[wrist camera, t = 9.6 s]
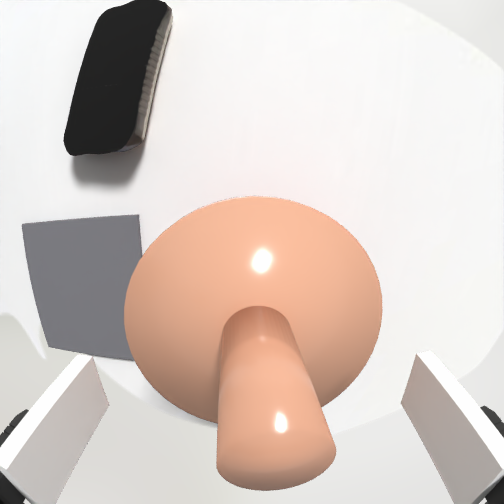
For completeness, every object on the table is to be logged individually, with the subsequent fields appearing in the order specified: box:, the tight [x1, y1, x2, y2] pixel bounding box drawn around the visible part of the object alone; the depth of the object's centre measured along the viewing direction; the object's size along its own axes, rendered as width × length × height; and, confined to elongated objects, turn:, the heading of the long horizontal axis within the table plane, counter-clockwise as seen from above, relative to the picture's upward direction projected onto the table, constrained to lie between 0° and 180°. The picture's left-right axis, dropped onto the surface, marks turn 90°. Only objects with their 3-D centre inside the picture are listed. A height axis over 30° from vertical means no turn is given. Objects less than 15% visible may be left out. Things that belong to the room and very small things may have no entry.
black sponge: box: [64, 0, 173, 156], centre depth 22 cm, size 16×8×4 cm, turn 171°
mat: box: [22, 215, 142, 360], centre depth 28 cm, size 16×16×1 cm
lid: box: [124, 196, 382, 491], centre depth 11 cm, size 14×14×9 cm
